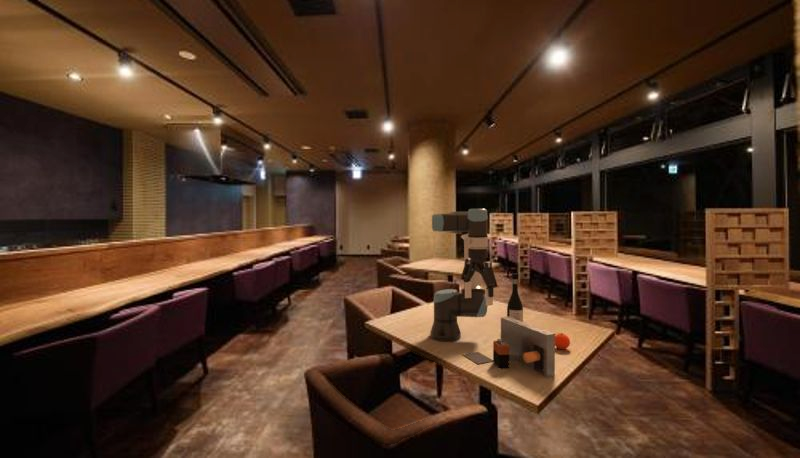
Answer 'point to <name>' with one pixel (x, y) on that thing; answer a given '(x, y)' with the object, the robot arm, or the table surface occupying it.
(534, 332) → the panel
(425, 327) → the table surface
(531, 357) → the orange rounded cylinder
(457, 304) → the robot arm
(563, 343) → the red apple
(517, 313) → the wine bottle
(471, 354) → the mat
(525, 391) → the table surface
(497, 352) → the battery
